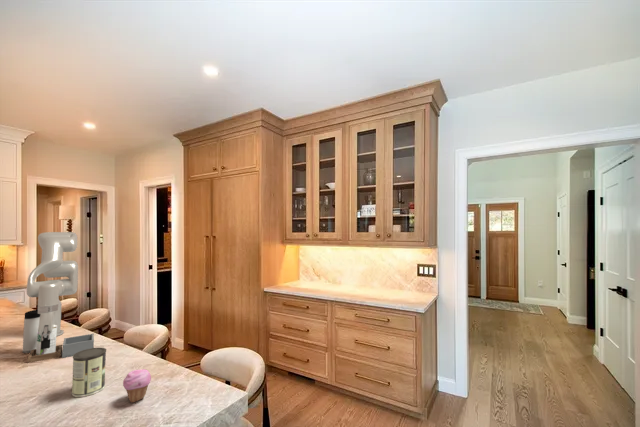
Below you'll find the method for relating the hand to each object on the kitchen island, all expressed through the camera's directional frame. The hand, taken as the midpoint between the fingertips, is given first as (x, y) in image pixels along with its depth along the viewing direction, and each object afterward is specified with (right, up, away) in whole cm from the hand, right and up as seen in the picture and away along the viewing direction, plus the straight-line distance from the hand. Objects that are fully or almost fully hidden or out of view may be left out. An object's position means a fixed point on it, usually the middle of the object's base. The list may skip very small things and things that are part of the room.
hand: (46, 345), depth 150 cm
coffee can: (+44, -4, -32) cm, 55 cm away
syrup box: (0, -5, 0) cm, 5 cm away
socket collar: (0, -5, 0) cm, 5 cm away
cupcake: (+66, -3, -38) cm, 76 cm away
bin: (+11, -5, +6) cm, 14 cm away
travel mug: (-13, -5, +6) cm, 16 cm away
